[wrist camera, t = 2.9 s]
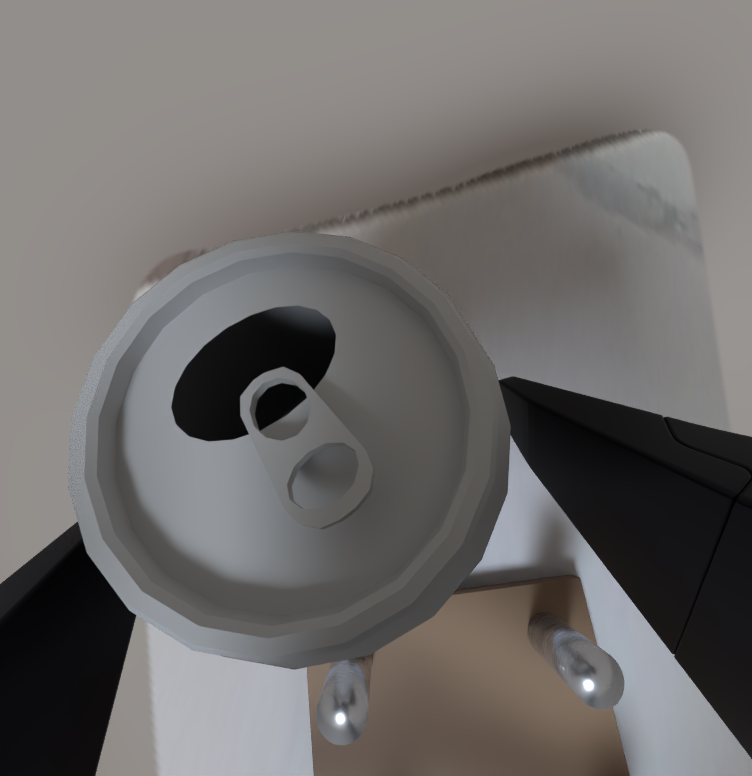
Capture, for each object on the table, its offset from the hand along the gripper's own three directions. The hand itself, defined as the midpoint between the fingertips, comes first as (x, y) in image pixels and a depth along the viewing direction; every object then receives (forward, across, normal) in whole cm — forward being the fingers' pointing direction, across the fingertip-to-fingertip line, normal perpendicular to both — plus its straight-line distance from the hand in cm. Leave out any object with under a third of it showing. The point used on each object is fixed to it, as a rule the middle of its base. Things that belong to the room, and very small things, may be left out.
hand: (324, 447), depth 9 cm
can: (+6, 0, +6) cm, 8 cm away
